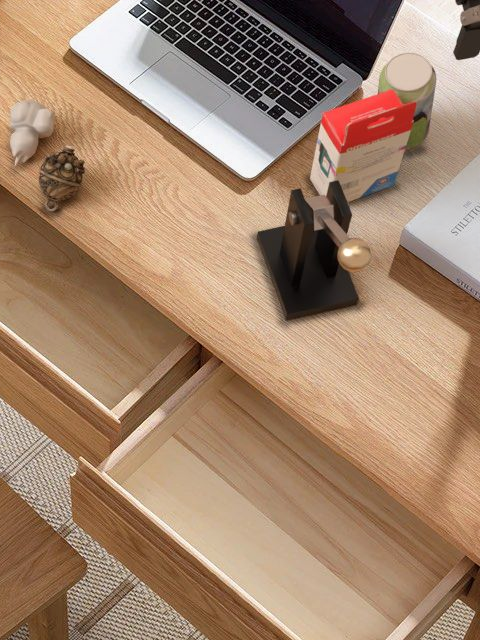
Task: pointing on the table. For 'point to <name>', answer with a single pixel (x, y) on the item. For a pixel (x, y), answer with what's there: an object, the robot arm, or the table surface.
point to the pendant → (60, 176)
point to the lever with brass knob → (339, 235)
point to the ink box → (362, 145)
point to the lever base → (308, 259)
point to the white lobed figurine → (29, 127)
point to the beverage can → (411, 90)
